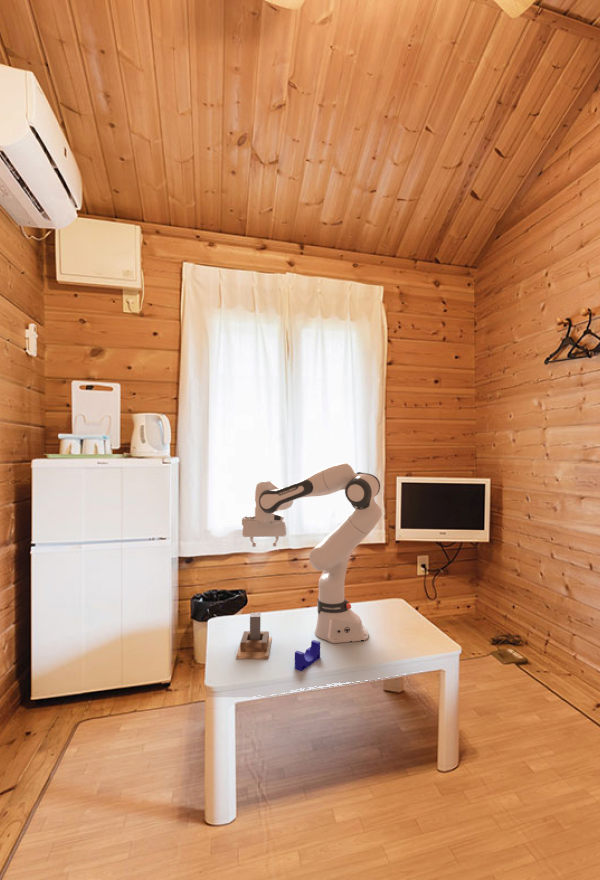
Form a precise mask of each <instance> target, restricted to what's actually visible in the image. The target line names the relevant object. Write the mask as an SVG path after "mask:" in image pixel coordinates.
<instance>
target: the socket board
mask: <svg viewBox="0 0 600 880" xmlns="http://www.w3.org/2000/svg"><path fill="white" fill-rule="evenodd" d="M272 640H273V637H272V636H270V632H269V631H264V630H263V631H262V630H260V640H250V630H249V631H247V630H246V631H243V633H242V636H241V640H240V642H239V646H238V650H237V653H236V656H235V657H236V660H237V659H240V660H241V659H244V660H245V659H250V660H251V659H252V660H255V659H257V660H258V659H260V660H262V659H263V660H264V659H265V660H266V659H267V660H269V658H270V654H271V653H270V651H271V647H272V646H271V645H272Z"/></svg>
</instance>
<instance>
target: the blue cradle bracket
mask: <svg viewBox="0 0 600 880" xmlns="http://www.w3.org/2000/svg"><path fill="white" fill-rule="evenodd" d="M310 642H311V643H310V647H308V648H307V649H305V652H302V651H299V650H296V651H294V670H297V671H299V672H304V670H306V669H307V668H309V667H310V666H311V665H313V664H314V663H315V662H317V661H318V660H320V659H321V641H319V640H318V641H317V640H315V639H313V640H311V641H310Z"/></svg>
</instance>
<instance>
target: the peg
mask: <svg viewBox="0 0 600 880" xmlns="http://www.w3.org/2000/svg"><path fill="white" fill-rule="evenodd" d="M261 617H262V616H261V612H250V613H249V631H250V640H260V631H261Z"/></svg>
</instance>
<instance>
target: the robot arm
mask: <svg viewBox="0 0 600 880" xmlns="http://www.w3.org/2000/svg"><path fill="white" fill-rule="evenodd" d="M380 482H381V481H380V480H379V478H378V477H377V476H375V474H371V473H365V472H360V471H358V472H356V473H355V471H354V469H353V467H352V466H351V465H350V464H348V463H344V462H342V463H335V464H333V465H330V466H327V467H324V468H322V469H319V470H318V471H316V472H313V474H310V475H309V476H307V477H306V478H304V479H301V480H299V481H298V482H296V483H293V484H290V485H288V486H286V487H281V486H280V485H279V486H278V485H277V484H275V483H274V481H272V480H266V481H259V482H258V483H257V484H256V486H255V490H254V491H255V495H254V501H255V508H254V515H253V516H252V515H251V516H247V515H246V516H244V517H243V518H242V519H241V525H242V526H243V527H242V537H244V538H249V541H250V542H251V543H252V548H256V547H257V546H256V544H257V542H256V541H255V542H254V538H259V537H261V538H263V537H265V538H266V537H267V538H271V537H272V538H274V537H275V541H273V542H272V547H277V543H278V540H279V539H280V537H286V536H287V528H286V522H285V521H284V515H283V514H282V513H279V512H281V511H283V510H287V509H289V508H291V507H292V506H293V503H294V501H295V500H298V499H301V498H309V497H322V496H327V495H331V494H334V493H336V492H339V491H342V490H344V494H345V497H346V499H347V501H348V502H349V503H350V504H351V506H352V507H353V508H354V509H352V511H350V513H349V514H348V515H347V516H346V517H345V518H344V520H343V521H342V522H341V523H340V524H339V525H338V526H337V527H336V528H335V529H333V530H332V531H331V532H330V533H329V534H328V535H327V536H326V537H324V538H323V539H322V540H321V541H320V542H319V543H318V544H317V545H316V546H315V547H313V548H312V549H311V550H310V552H309V557H308V558H309V563H310V565H311V567H312V568H313V569H315V570H316V571H322V572H321V574H320V577H319V580H318V598H317V601H316V603H317V604H316V608H317V609H316V610H317V621H316V626H315V631H314V635H315V636H316V637H318V638H319V639H321V640H324V641H327V642H329V643H330V644H331V643H332V644H339V643H349V642H350V641H352V642H362V641H361V640H364V641H367V640H368V638H369V631H368V629H367V628H366V627H365V626H364V625H363V622H362V619H361V617H360V616H359V615H358V614H357V613H356V612H355V611H353V610H352V609H351V608H352V604H351V603H350V601H349V600H348V599H347V598H345V582H346V574H347V569H348V565H349V560H350V558H351V556H352V553H353V550H354V549H355V548H357V547H358V546H359V545H360V543H361V542H362V541H363V540H364V539H366V537H367V536H368V535H369V534H370V533H371V532H372V531H373V529H374V528H375V527H376V526H377V524H378V523H379V521H380V519H381V518H382V516H383V515H382V509H381V507H380V506H379V505H378V504H377V502H376V501H375V498H376V496H377V495H378V494H379V493H380V490H381V483H380ZM366 639H367V640H366ZM350 643H351V642H350Z"/></svg>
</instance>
